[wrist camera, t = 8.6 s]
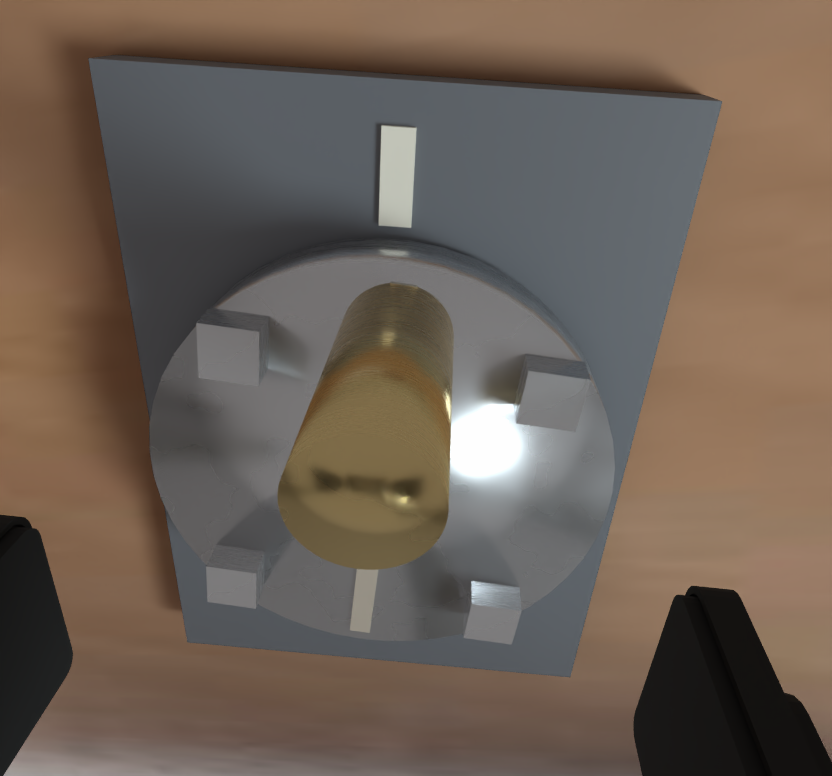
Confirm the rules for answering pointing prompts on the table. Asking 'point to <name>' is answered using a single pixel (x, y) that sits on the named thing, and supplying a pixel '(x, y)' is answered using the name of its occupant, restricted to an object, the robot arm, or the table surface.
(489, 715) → the table surface
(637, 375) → the base plate
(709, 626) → the robot arm
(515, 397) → the disc with brass post
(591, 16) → the table surface
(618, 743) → the table surface
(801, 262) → the table surface
